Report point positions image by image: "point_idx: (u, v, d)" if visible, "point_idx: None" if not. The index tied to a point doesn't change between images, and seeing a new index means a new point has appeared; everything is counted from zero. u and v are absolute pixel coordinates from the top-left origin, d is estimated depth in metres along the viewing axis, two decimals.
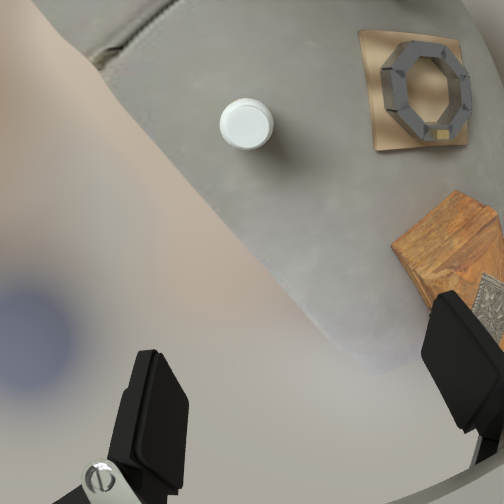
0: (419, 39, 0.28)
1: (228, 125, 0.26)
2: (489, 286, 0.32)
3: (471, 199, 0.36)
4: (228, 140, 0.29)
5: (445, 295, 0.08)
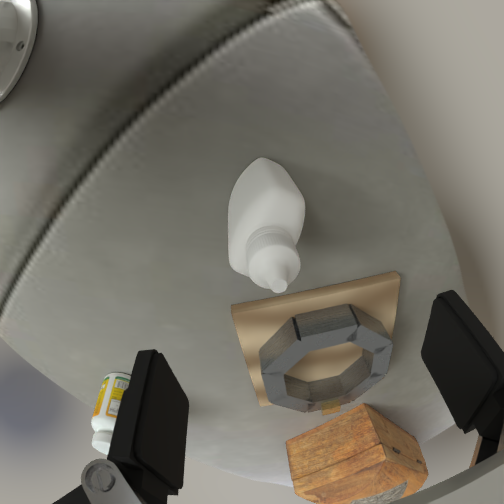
0: (327, 301, 0.27)
1: (94, 446, 0.25)
2: (364, 500, 0.32)
3: (371, 426, 0.36)
4: None
5: (445, 295, 0.08)
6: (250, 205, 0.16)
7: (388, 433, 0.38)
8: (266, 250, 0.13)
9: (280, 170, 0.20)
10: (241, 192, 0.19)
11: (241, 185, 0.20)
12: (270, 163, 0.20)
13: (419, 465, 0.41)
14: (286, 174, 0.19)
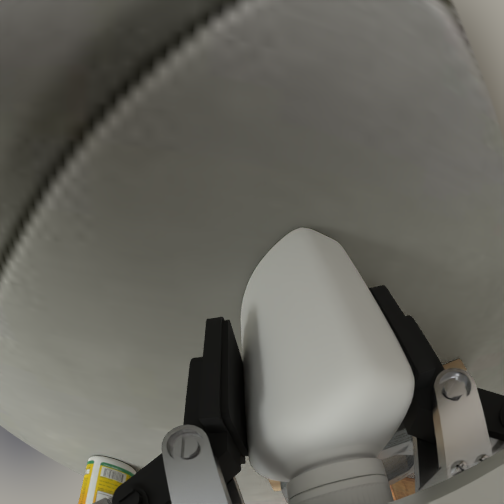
0: None
1: None
2: None
3: None
4: None
5: (373, 290, 0.09)
6: (301, 405, 0.06)
7: None
8: None
9: (346, 268, 0.10)
10: (271, 321, 0.09)
11: (269, 296, 0.10)
12: (325, 249, 0.10)
13: None
14: (358, 278, 0.10)
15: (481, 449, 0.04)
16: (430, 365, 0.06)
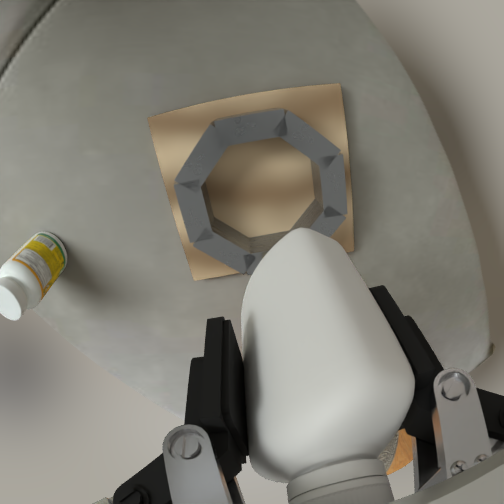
0: (252, 102, 0.23)
1: None
2: None
3: None
4: None
5: (373, 290, 0.09)
6: (300, 407, 0.06)
7: None
8: None
9: (345, 268, 0.10)
10: (270, 322, 0.09)
11: (268, 296, 0.10)
12: (324, 249, 0.10)
13: None
14: (358, 278, 0.10)
15: (480, 449, 0.04)
16: (429, 365, 0.06)
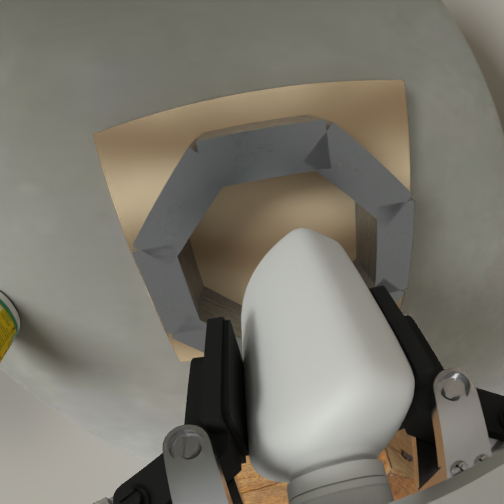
0: (265, 105, 0.13)
1: None
2: None
3: None
4: None
5: (373, 290, 0.09)
6: (300, 407, 0.06)
7: None
8: None
9: (345, 268, 0.10)
10: (270, 323, 0.09)
11: (268, 297, 0.10)
12: (324, 249, 0.10)
13: None
14: (357, 278, 0.10)
15: (480, 449, 0.04)
16: (430, 364, 0.06)
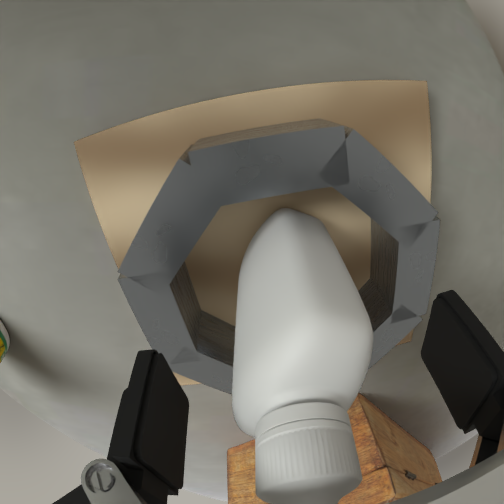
0: (270, 107, 0.11)
1: None
2: None
3: (368, 434, 0.19)
4: None
5: (445, 295, 0.08)
6: (260, 350, 0.07)
7: (397, 446, 0.22)
8: (292, 485, 0.05)
9: (317, 237, 0.11)
10: (249, 289, 0.11)
11: (251, 268, 0.12)
12: (299, 223, 0.12)
13: None
14: (329, 245, 0.11)
15: None
16: None
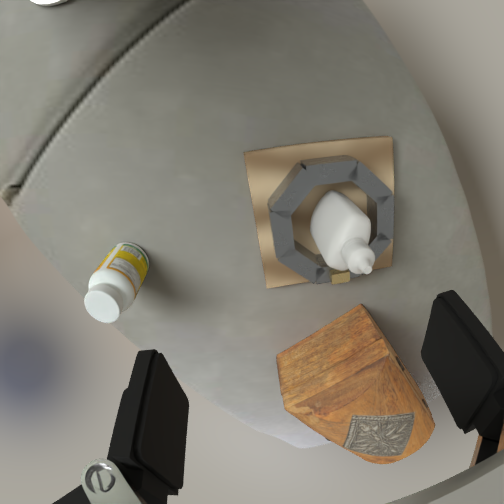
0: (328, 149, 0.30)
1: (86, 304, 0.27)
2: (366, 422, 0.32)
3: (370, 323, 0.36)
4: None
5: (445, 295, 0.08)
6: (340, 226, 0.26)
7: (389, 346, 0.39)
8: (358, 251, 0.23)
9: (348, 199, 0.29)
10: (326, 216, 0.29)
11: (323, 211, 0.30)
12: (340, 195, 0.30)
13: (425, 407, 0.41)
14: (352, 202, 0.29)
15: None
16: None
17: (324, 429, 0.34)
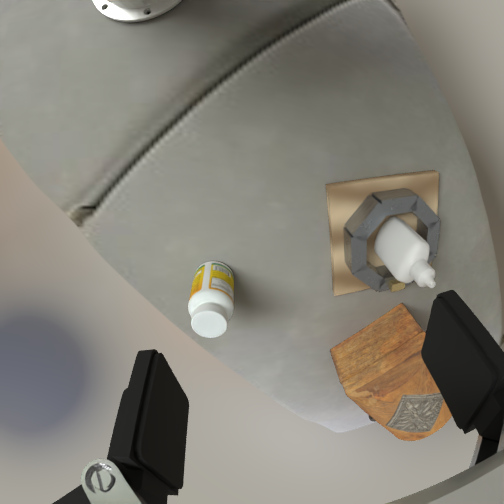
0: (392, 184, 0.35)
1: (193, 323, 0.33)
2: (411, 401, 0.38)
3: (411, 319, 0.42)
4: None
5: (445, 295, 0.08)
6: (408, 250, 0.31)
7: None
8: (425, 271, 0.29)
9: (408, 225, 0.35)
10: (393, 240, 0.34)
11: (390, 235, 0.35)
12: (401, 221, 0.35)
13: None
14: (411, 228, 0.34)
15: None
16: None
17: (377, 409, 0.40)
